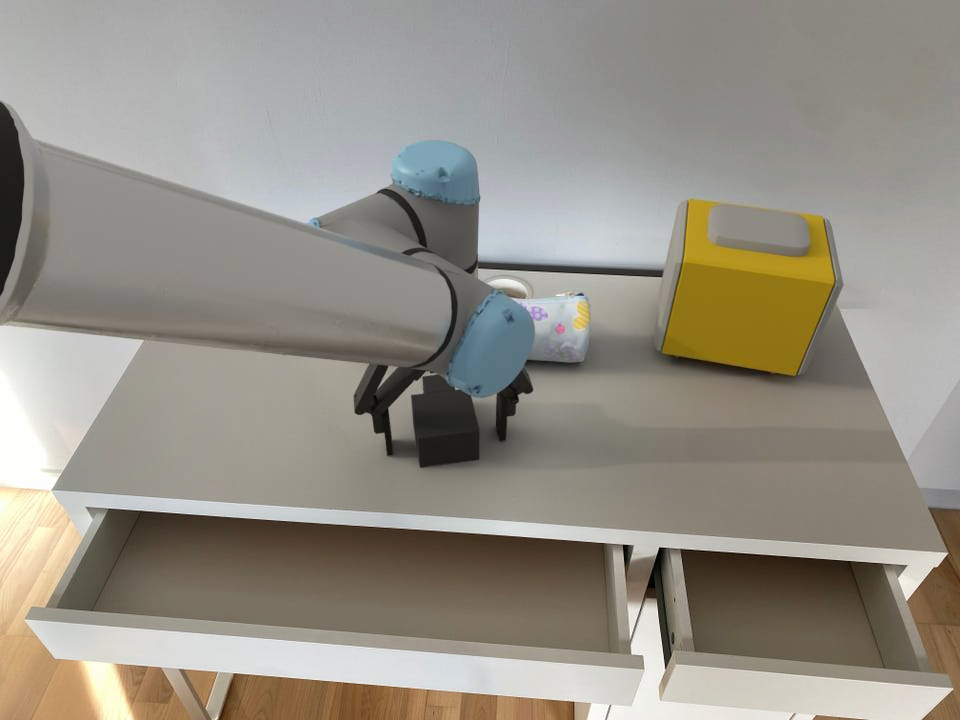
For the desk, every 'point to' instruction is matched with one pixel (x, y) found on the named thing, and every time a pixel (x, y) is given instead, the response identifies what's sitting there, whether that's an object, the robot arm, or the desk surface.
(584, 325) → the pencil case
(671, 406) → the desk surface
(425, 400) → the tab pad
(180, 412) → the desk surface
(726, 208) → the alarm clock
